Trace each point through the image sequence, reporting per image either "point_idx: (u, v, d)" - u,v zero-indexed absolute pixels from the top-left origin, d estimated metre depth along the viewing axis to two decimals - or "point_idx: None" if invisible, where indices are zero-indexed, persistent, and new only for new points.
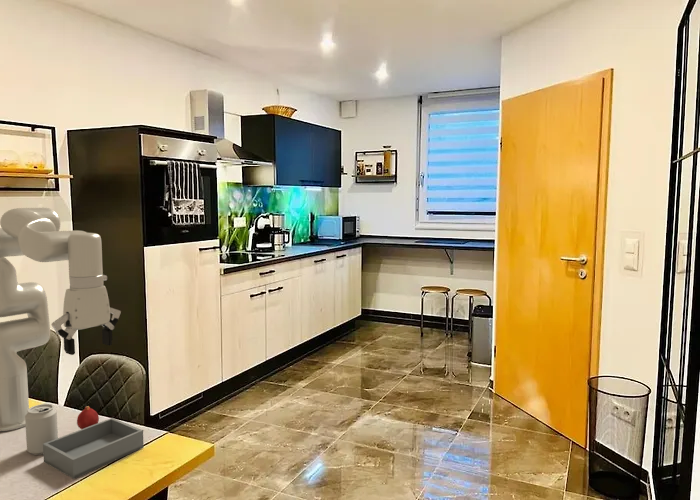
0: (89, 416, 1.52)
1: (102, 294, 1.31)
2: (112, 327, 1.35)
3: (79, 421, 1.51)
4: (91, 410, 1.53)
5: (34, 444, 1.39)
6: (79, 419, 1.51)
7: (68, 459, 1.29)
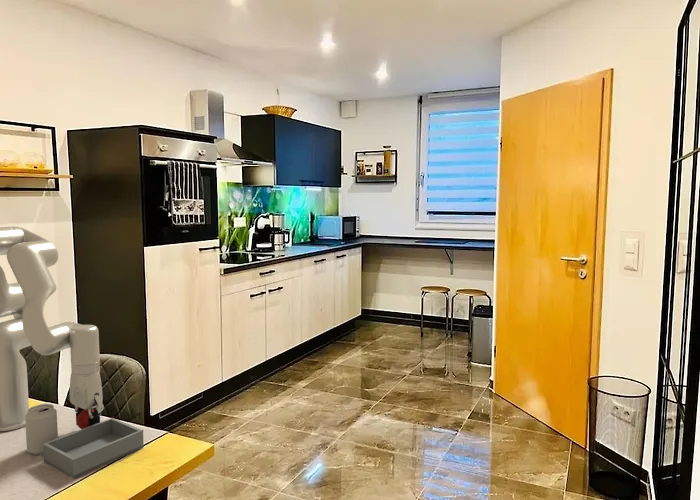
0: (89, 416, 1.52)
1: None
2: None
3: (79, 421, 1.51)
4: None
5: (34, 444, 1.39)
6: (79, 419, 1.51)
7: (68, 459, 1.29)
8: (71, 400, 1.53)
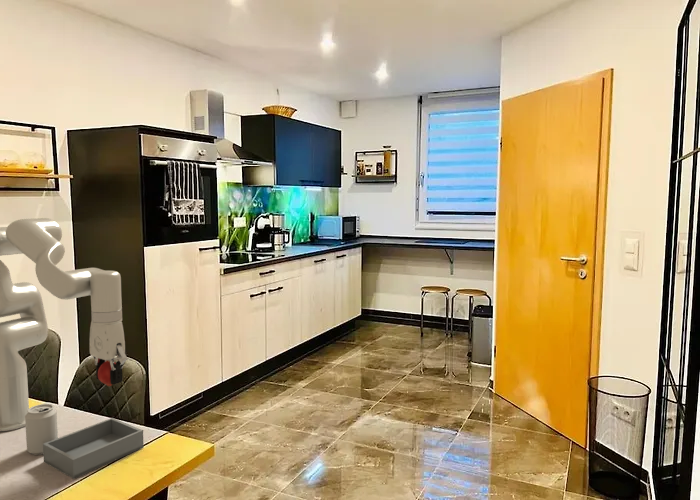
0: (111, 368, 1.41)
1: None
2: None
3: (100, 373, 1.40)
4: None
5: (34, 444, 1.39)
6: (100, 371, 1.40)
7: (68, 459, 1.29)
8: (91, 351, 1.42)
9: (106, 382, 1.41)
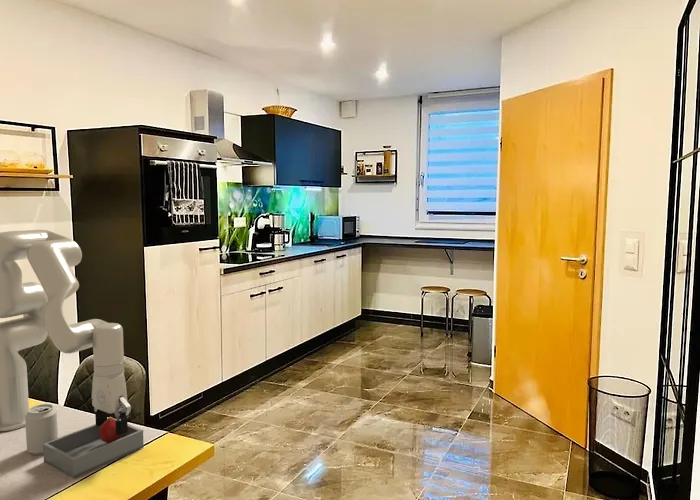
0: (112, 427, 1.43)
1: None
2: None
3: (102, 433, 1.42)
4: (114, 421, 1.44)
5: (34, 444, 1.39)
6: (102, 431, 1.42)
7: (68, 459, 1.29)
8: (93, 403, 1.43)
9: (108, 441, 1.43)
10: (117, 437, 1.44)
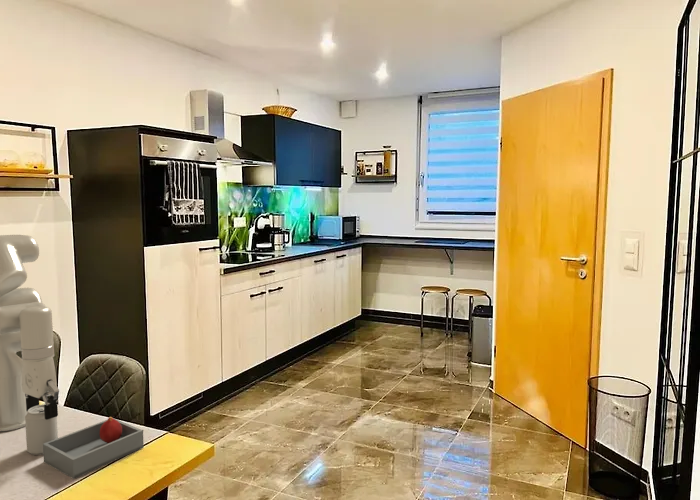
0: (113, 427, 1.43)
1: None
2: None
3: (102, 433, 1.42)
4: (114, 421, 1.44)
5: (34, 445, 1.39)
6: (102, 431, 1.42)
7: (68, 459, 1.29)
8: (23, 388, 1.41)
9: (108, 441, 1.43)
10: (117, 437, 1.44)
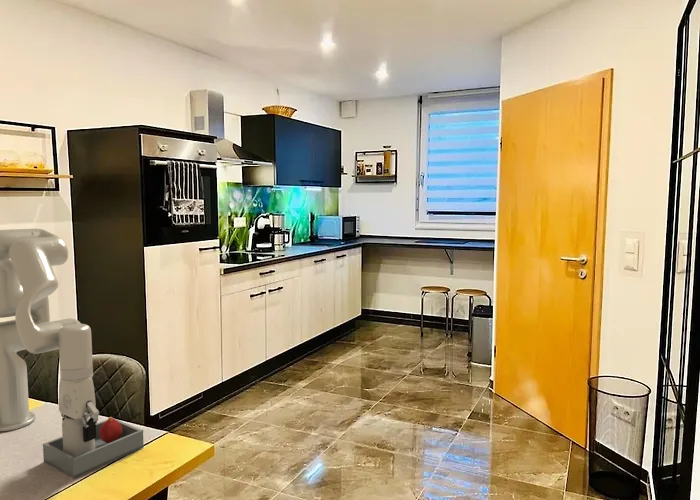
0: (113, 427, 1.43)
1: None
2: None
3: (102, 433, 1.42)
4: (114, 421, 1.44)
5: (72, 452, 1.33)
6: (102, 431, 1.42)
7: (68, 459, 1.29)
8: (60, 409, 1.36)
9: (108, 441, 1.43)
10: (117, 437, 1.44)
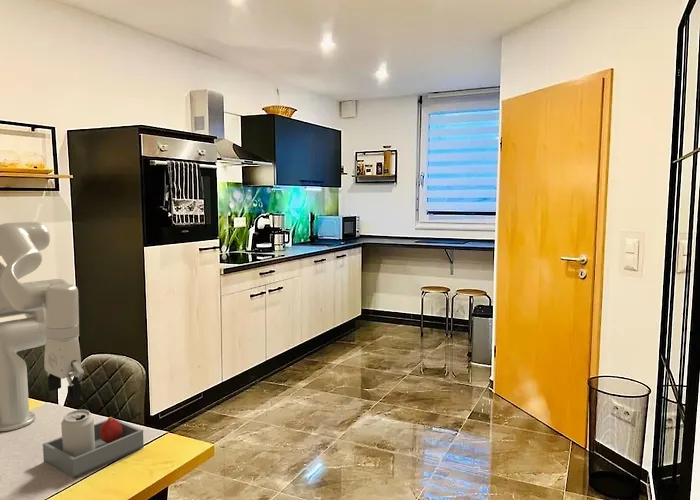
0: (113, 427, 1.43)
1: None
2: None
3: (102, 433, 1.42)
4: (114, 421, 1.44)
5: (72, 453, 1.33)
6: (102, 431, 1.42)
7: (68, 459, 1.29)
8: (46, 367, 1.37)
9: (108, 441, 1.43)
10: (117, 437, 1.44)
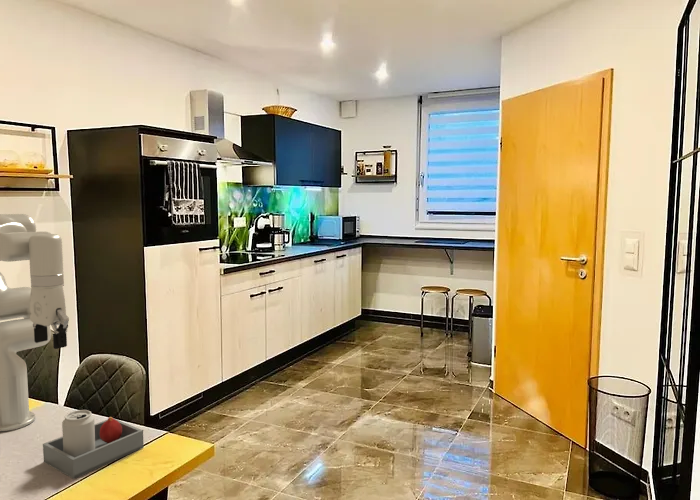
0: (113, 427, 1.43)
1: None
2: None
3: (102, 433, 1.42)
4: (114, 421, 1.44)
5: (72, 452, 1.33)
6: (102, 431, 1.42)
7: (68, 459, 1.29)
8: (31, 318, 1.37)
9: (108, 441, 1.43)
10: (117, 437, 1.44)
